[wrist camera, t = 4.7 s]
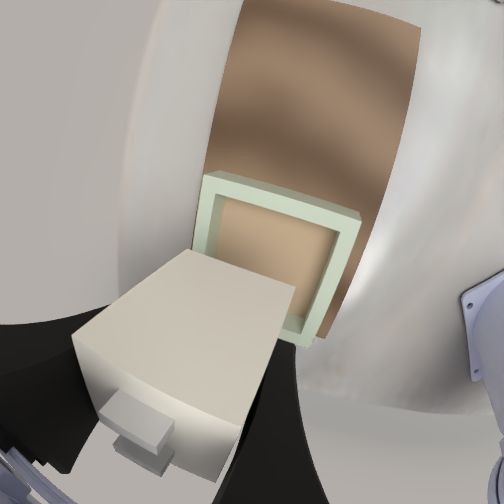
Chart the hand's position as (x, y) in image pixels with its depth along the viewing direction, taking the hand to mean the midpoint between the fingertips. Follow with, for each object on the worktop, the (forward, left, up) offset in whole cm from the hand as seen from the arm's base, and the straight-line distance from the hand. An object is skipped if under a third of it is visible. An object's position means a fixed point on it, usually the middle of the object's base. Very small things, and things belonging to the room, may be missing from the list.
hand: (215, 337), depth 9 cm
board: (+4, -4, -9) cm, 10 cm away
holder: (0, 0, -9) cm, 9 cm away
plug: (0, 0, -1) cm, 1 cm away
